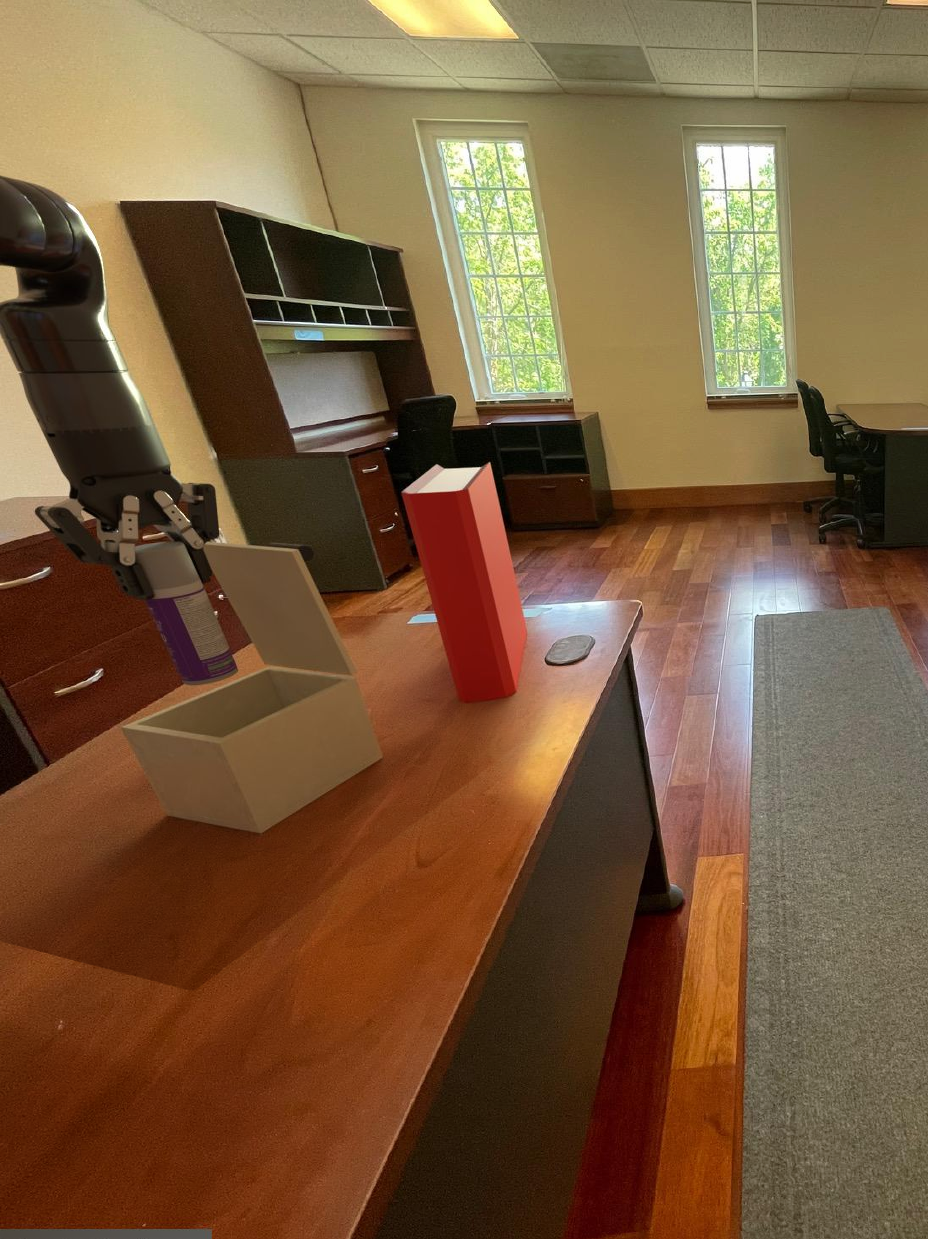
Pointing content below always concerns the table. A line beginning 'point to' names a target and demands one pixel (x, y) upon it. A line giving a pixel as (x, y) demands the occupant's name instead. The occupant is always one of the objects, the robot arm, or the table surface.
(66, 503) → the robot arm
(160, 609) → the container
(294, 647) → the lid
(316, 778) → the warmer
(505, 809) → the table surface
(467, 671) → the book
